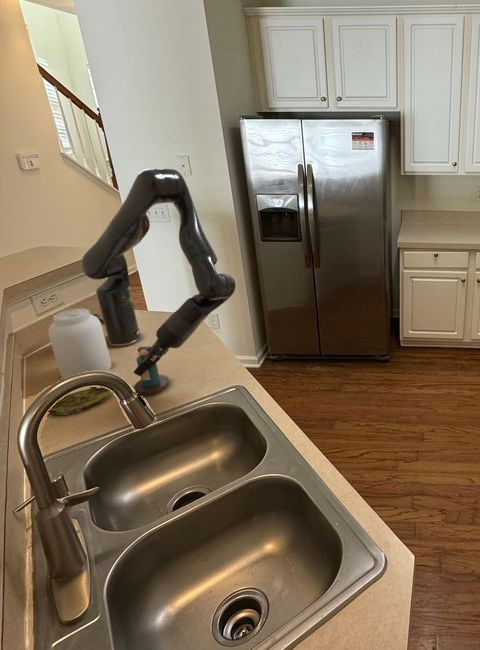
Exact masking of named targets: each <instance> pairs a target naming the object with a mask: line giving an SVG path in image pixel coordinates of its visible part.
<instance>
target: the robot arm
mask: <svg viewBox="0 0 480 650" xmlns="http://www.w3.org/2000/svg"><path fill="white" fill-rule="evenodd" d="M193 201H194V200H193V199H192V196H191V192H190V190H189V186H188V185H187V182H186V180H185V178H184V177H183V175H182V173H180V171H178V170H176V169H174V168H147V169H143V170H141V171H140V172H139V173H138V174H137V176H136V177H135V179H134V181H133V183H132V185H131V188H130V189H129V192H128V194H127V196H126V198H125V199H124V201H123V203H122V205H121V206H120V207H119V209H118V210H117V212H116V214H115V215H114V216H113V217H112V219H111V221H110V222H109V223H108V225H107V227H106V228H105V230H104V231H103V232H102V234H101V235H100V236H99V238H98V239H97V241H96V242H95V243H94V244H93V245H92V246H91V247H90V248H89V249H88V250H87V251H86V252H85V253H84V254H83V256H82V258H81V270H82V272H83V274H84V275H85V276H86V277H87V278H89V279H92V280H95V281H96V280H97V281H98V280H104V279H105V281H103V283H102V284H101V285H99V286H98V287H97V288H96V290H95V293H96V297H97V301H98V305H99V309H100V312H101V316H102V318H100V317H99V316H98V314H97V313H94V314H93V315H94V316H96V317H97V318H98V319H99V321H100V322H101V323H104V328H105V331H106V336H107V339H108V345H109V346H111V347H115V348H116V347H117V348H119V347H120V348H121V347H126V346H130V345H133V344H136V343H137V342H139V341H140V340H141V339H142V336H141V333H140V332H141V328H139V322H138V319H137V315H136V310H135V307H134V302H133V298H132V294H131V289H130V288H131V280H130V275H129V274H130V273H129V267H128V263H127V259H126V256H125V255H124V254H125V253H127V252H129V251H130V250H132V249H134V248H135V247H136V246H138V245H139V244H140V242H142V240H143V239H144V238H145V236H146V235H148V233H149V230H150V227H151V222H150V219H149V216H148V214H147V213H148V211H149V210H150V209H151V208H152V207H153V206H155V205H158V204H159V205H160V204H171V203H172V204H173V206H174V207H175V209H176V211H177V213H178V217H179V230H178V231H179V232H178V241H179V245H180V249H181V250H182V253H183V254H184V256H185V259H186V260H187V262H188V264H189V265H190V267H191V272H192V277H193V280H194V285H195V288H196V290H197V291H198V293H195V294H193V295H191V296H189V297H187V299H186V300H185V301H184V302H183V303H182V304H181V306H179V308H178V309H176V310H175V311H174V312H173V313H172V314H171V315H170V316H169V317H168V318H167V319H166V320H165V321H164V322H163V323H162V324H161V325H160V326H159V328H158V329H157V330H156V332H155V333H156V337H157V339H156V340H155V341H154V343H153V344H152V345H151V350H150V351H149V352H148V353H147V354H146V358H145V359H144V360H143V361H142V363H141V364H140V365H139V366H138V365H137V367H136V368H135V369H134V370H133V374H135V375H136V376H138V377H141V375H142V374H143V373H144V372H145V371H146V370H150V369H151V367H152V366H153V365H154V364H155V363H156V364H157V363H158V362H159V361H160V360H161V358H162V357H163V356H164V355H166V354H167V353H168V352H169V351H170V349H179V348H180V347H182V345H184V344H185V342H186V341H187V340H188V339H189V338H190V337H191V336H192V335H193V334H194V333H195V332H196V330H197V329H198V328H199V326H200V325H201V324H202V323H203V322H204V321H205V320H206V319H207V318H208V316H209V315H210V314H211V313H213V312H214V311H215V310H217V309H218V308H219V307H220V306H222V304H224V303H225V302H226V301H228V300H229V299H230V298H231V297H232V296H233V294H234V293H235V290H236V281H235V279H234V278H233V276H231V275H230V274H227V273H218V272H217V270H216V266H215V265H216V264H217V263H218V257H217V255H216V252H215V251H214V249H213V247H212V245H211V243H210V241H209V239H208V237H207V236H206V234H205V231H204V230H203V227H202V225H201V221H200V219H199V216H198V213H197V210H196V207H195V203H194V202H193ZM150 353H151V354H150Z"/></svg>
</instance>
